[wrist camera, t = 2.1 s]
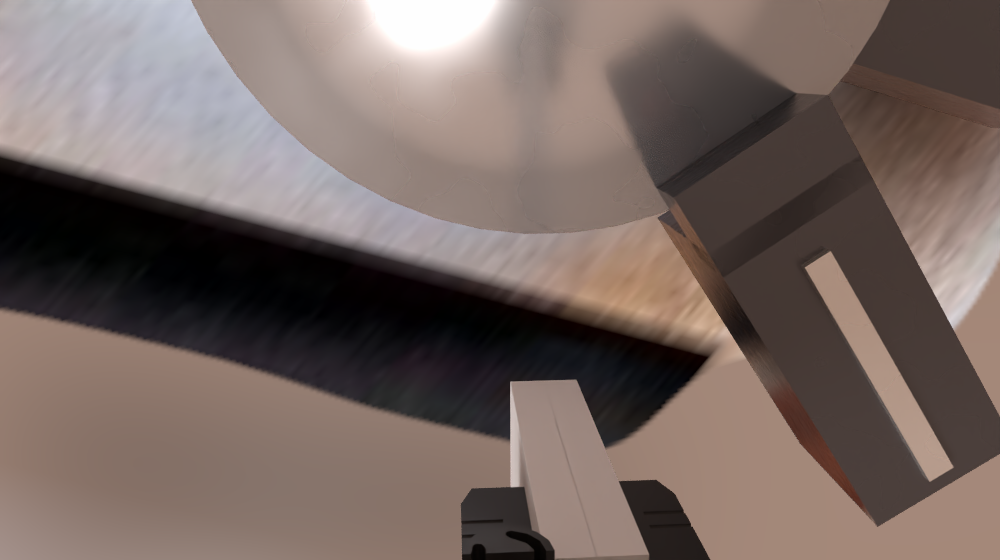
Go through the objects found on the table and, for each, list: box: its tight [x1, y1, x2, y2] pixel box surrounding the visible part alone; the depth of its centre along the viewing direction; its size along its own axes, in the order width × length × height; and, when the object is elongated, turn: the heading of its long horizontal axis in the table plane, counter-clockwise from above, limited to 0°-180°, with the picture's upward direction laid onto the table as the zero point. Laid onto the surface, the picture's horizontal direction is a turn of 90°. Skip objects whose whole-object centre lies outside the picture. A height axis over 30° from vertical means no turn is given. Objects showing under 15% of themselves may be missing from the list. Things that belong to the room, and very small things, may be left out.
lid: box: [191, 0, 1000, 527], centre depth 16 cm, size 15×24×5 cm, turn 34°
